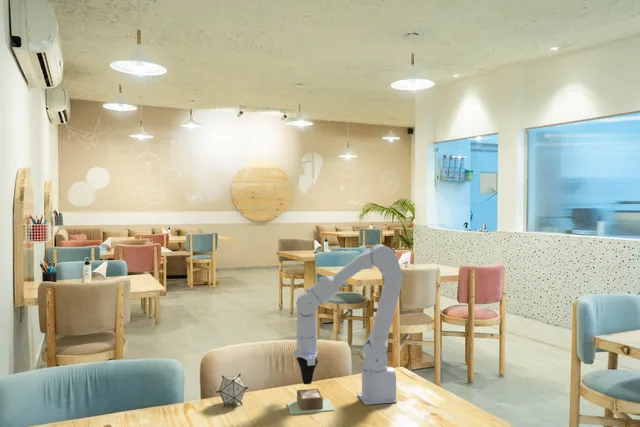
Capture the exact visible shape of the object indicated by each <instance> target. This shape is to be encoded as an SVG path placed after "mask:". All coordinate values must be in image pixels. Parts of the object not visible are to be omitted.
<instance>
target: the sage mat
mask: <svg viewBox="0 0 640 427" xmlns="http://www.w3.org/2000/svg"><path fill="white" fill-rule="evenodd" d="M286 405H287V408H288V411H289V413H290V415H298V414H300V415H301V414H310V413H311V414H312V413H321V412H322V413H323V412H332V411H333V412H334V411H335V408H334V406H333V405H332V402H331V401H330V399H328V398H325V399H323V409H314V410H302V411H301V409H300V407H299V405H298V402H297V401H291V402H290V401H289V402H286Z"/></svg>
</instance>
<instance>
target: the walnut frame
mask: <svg viewBox="0 0 640 427" xmlns="http://www.w3.org/2000/svg"><path fill="white" fill-rule="evenodd" d="M323 400H324V397H323V395H322V394H321V392H320V390H319V389H318V388H311V389H310V388H309V389H297V390H296V402H298V405H299V407H300V409H301V411H302V410H314V409H323Z"/></svg>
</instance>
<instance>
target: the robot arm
mask: <svg viewBox="0 0 640 427" xmlns="http://www.w3.org/2000/svg"><path fill="white" fill-rule="evenodd" d="M374 266H375V268H377V269H378V270H379V272H380V274H381V275H382V278H384V281H383V286H382V289H381V294H380V297H379V301H378V303H377V304H378V305H377V309H376V312H375V316H374V319H373V323H372V327H371V331H370V333H369V334H368V336H367V339H366V341H365V343H363V345H362V347H361V356H362V358H363V359H364V361H363V363H362V365H361V392H358V393H357V397H358V398H359V399H360V400H361V401H362V403H363V404H364V405H365V406H366V405H367V406H370V405H380V404H390V403H397V402H398V400H397V377H396V376H397V375H396V371H395V368H393V366H388V362H389V361H388V360H389V359H388V354H387V353H388V348H389V343H388V342H389V334H390V330H391V327H392V323H393V319H394V316H395V312H396V309H397V308H396V307H397V305H398V304H397V303H398V299H399V297H400V292H401V288H402V285H403V281H404V275H403V272H402V269H401V265H400V263H399V257H398V256H397V254H396V253H395V252H394V251H393V250H392V249H391V247H389V246H387V245H384V244H381V243H377V244H374V245H372V246H371V247H370V248H369V249H368V248H367V249H366V250H363V252H361V253H360V254H358V255H357V256H356V257H355V258H353V259H352V260H351V261H350V262H349V263H347V264H346V265H345V266H344V267H343V268H341V269H340V270H339V271H337V273H336V274H333V276H332V275H326V276H324V277H323V276H321V277H319V278H318V280H319V281H318V282H316V283H315V284H314V285H312V286H311V287H310V288H309V287H307V288H306V289H305V292H303V293H300V294H299V295H298V297H297V299H296V302H295V305H296V310H297V313H296V316H297V317H296V350H293V351H292V355H293V356H298V357H296V361H297V362H298V365H299V370H300V374H301V379H302V383H303V385H311V384H312V381H313V376H314V372H315V369H316V367H317V365H318V364H319V360H318V359H317V355H318V353H319V351H318V333H317V332H318V328H317V327H318V324H317V323H318V322H317V321H318V319H317V316H316V314H317V310H318V309H319V308H318V307H319V306H322V305H324V304H325V303H326V302H328V301H329V300H331V298H333V297H334V296H335V295H337V294H338V293H339V291H340V286H341V285H342V284H343V283H345V282H347V281H348V280H350V278H352V277H354V276H355V275H357V274H358V273H359V272H361V271H362V270H370V269H372V270H373V269H374Z"/></svg>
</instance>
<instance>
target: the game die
mask: <svg viewBox="0 0 640 427" xmlns="http://www.w3.org/2000/svg"><path fill="white" fill-rule="evenodd" d="M241 375H242V374H241V372H240V373H239V374H238V375H236V376H235V375H234V376H224V375H223V374H222V375H221V378H222V379H221V384H220V386H219V389H218V390H216V391H215V393H216V394H218V395H220V398H221V400H222V402H223V403H224V404H223V408H224V407H226V405H232V404H238V403H240V405H243V402H242V400H243V397H244V395H245V393H246V390H248V389H249V387H248V386H245V384H244V382H243V380H242V379H241Z"/></svg>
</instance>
